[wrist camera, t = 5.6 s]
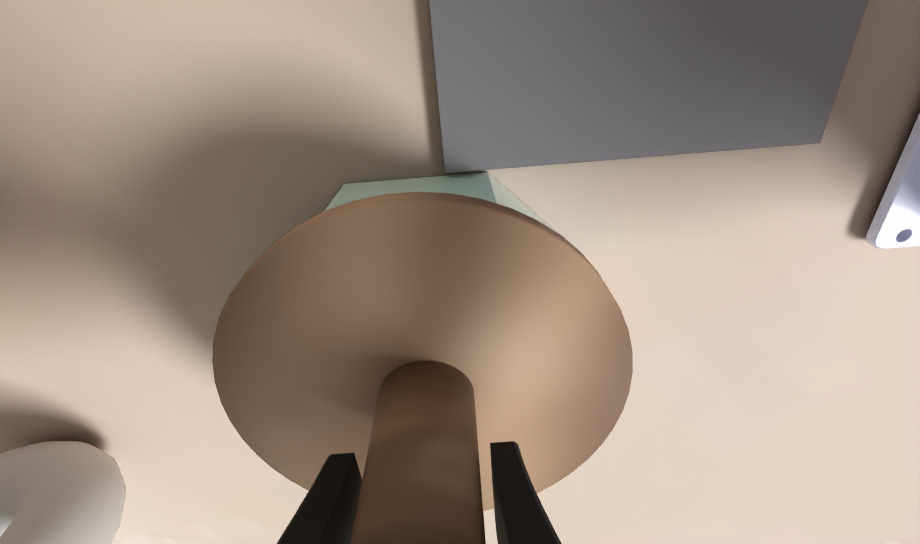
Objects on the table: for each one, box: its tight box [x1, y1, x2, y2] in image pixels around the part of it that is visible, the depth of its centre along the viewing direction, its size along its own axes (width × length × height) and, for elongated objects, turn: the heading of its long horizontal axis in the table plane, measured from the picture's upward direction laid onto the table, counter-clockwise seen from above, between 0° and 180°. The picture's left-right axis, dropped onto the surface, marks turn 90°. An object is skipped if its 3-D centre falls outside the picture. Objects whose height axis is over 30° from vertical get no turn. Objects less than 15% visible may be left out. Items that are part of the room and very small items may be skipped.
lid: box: [212, 192, 632, 544], centre depth 11 cm, size 12×12×5 cm
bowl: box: [324, 172, 556, 232], centre depth 15 cm, size 12×12×4 cm
